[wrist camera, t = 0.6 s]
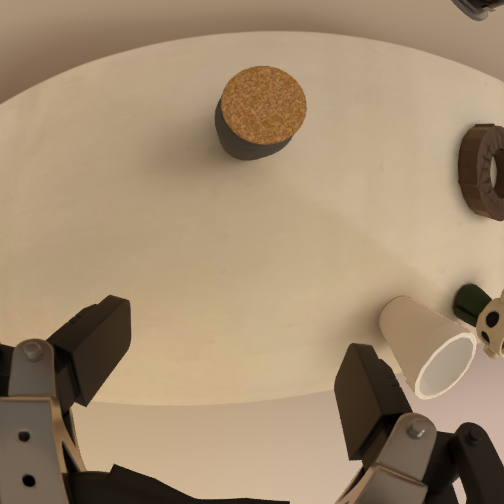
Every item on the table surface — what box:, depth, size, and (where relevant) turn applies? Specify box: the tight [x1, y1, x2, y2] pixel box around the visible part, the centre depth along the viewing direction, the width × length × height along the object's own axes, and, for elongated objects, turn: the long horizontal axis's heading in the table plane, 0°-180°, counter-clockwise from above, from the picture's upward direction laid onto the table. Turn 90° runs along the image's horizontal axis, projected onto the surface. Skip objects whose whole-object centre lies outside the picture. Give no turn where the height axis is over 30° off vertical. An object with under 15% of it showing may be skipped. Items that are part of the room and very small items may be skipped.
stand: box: [458, 124, 504, 221], centre depth 29 cm, size 14×14×4 cm
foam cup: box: [379, 296, 477, 399], centre depth 30 cm, size 10×9×13 cm
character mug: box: [454, 284, 504, 360], centre depth 31 cm, size 11×7×13 cm, turn 2°
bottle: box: [215, 66, 307, 160], centre depth 21 cm, size 6×6×15 cm
